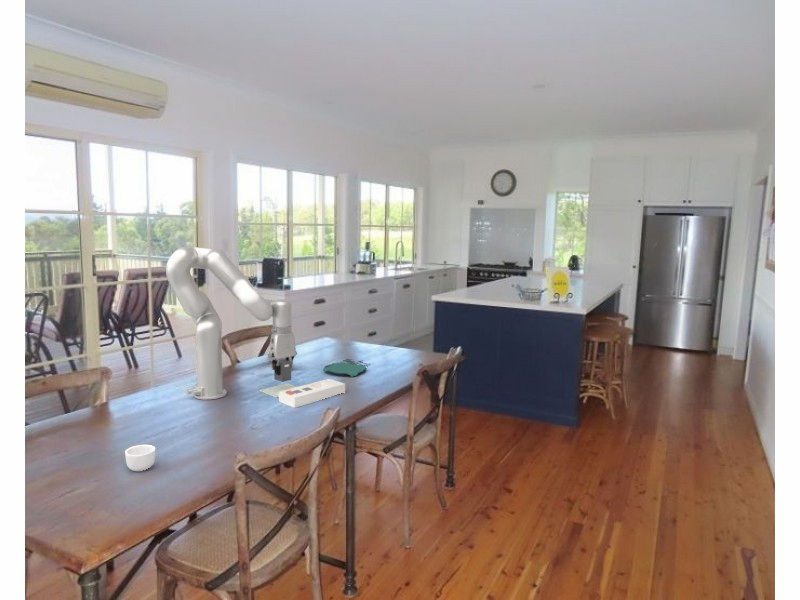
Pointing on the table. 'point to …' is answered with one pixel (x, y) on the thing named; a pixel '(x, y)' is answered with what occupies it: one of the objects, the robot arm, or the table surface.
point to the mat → (276, 389)
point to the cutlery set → (345, 368)
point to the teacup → (140, 457)
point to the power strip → (311, 392)
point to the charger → (284, 371)
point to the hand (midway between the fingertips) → (282, 372)
